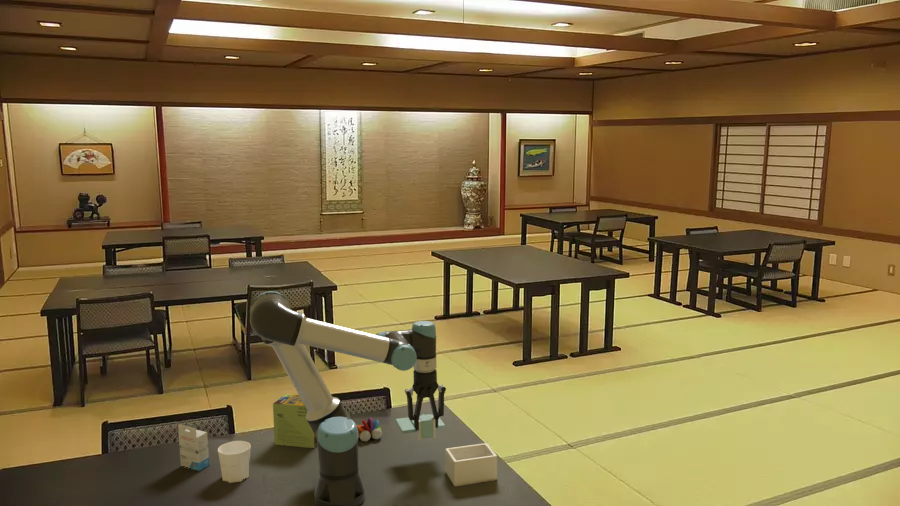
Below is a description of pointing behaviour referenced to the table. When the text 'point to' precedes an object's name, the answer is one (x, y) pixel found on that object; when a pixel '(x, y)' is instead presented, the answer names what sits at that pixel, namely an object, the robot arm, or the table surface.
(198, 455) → the ink box
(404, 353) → the robot arm
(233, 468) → the cup
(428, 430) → the lid
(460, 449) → the tub
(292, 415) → the protein box
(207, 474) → the table surface
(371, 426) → the rainbow disc toy
